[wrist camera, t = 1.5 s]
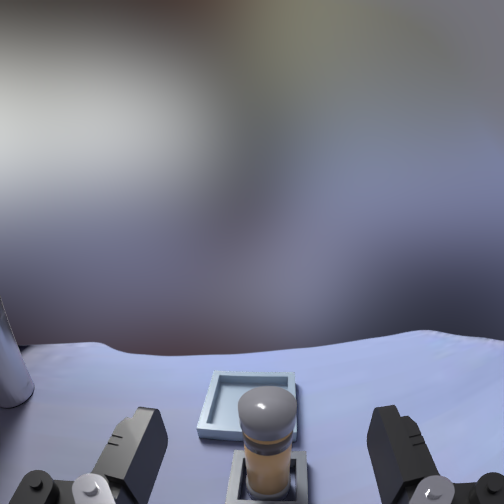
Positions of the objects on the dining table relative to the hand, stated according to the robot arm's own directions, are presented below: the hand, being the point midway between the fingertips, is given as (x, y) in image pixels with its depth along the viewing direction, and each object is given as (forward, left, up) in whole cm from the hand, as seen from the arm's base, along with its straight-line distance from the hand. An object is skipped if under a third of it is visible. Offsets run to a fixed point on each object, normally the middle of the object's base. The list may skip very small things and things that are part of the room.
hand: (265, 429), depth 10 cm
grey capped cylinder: (0, +10, -23) cm, 25 cm away
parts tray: (-3, +23, -23) cm, 32 cm away
